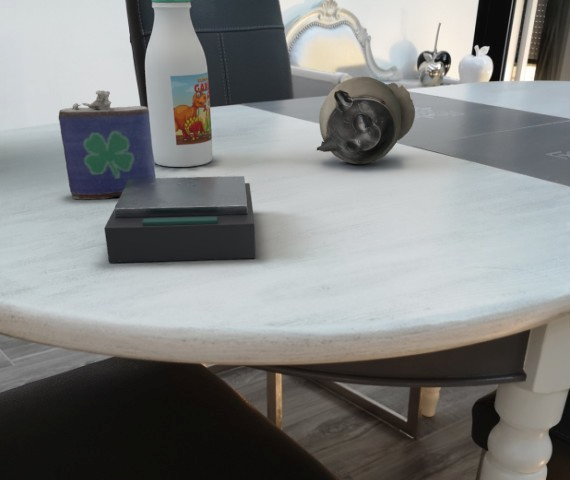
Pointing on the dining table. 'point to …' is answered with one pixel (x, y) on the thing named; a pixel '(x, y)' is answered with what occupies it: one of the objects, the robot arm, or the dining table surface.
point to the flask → (105, 147)
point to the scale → (181, 237)
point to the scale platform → (182, 197)
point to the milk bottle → (177, 88)
